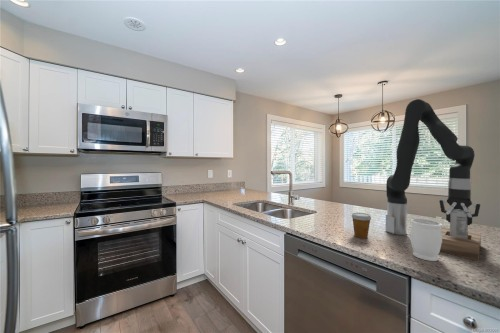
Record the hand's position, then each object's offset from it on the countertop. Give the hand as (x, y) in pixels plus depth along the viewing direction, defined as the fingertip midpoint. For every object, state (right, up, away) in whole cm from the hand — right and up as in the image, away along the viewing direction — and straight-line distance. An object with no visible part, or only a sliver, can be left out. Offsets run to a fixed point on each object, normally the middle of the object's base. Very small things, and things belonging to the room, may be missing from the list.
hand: (458, 223), depth 100 cm
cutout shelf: (0, -12, 0) cm, 12 cm away
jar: (-24, -12, -10) cm, 29 cm away
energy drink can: (0, -9, 0) cm, 9 cm away
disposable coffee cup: (-38, -11, +15) cm, 43 cm away
